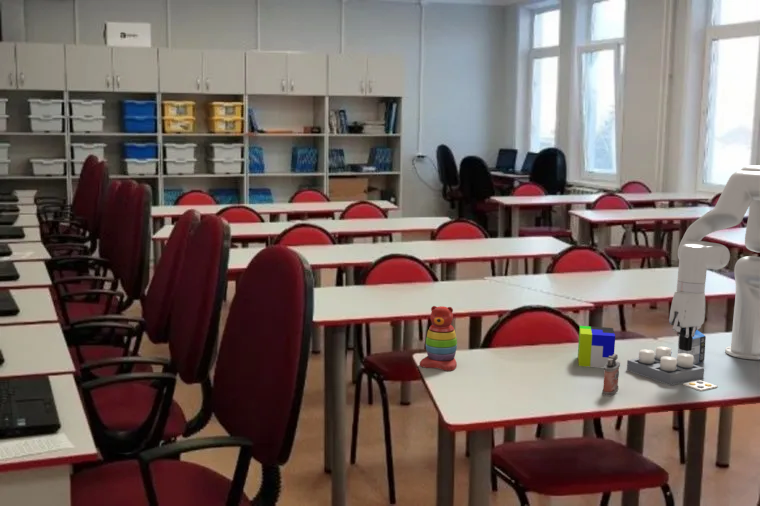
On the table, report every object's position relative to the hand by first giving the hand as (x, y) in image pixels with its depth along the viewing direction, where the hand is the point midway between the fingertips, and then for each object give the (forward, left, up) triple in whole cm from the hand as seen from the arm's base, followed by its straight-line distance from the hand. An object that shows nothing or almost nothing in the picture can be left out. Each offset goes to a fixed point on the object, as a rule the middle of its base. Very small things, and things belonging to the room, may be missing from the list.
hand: (685, 349), depth 239 cm
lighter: (+29, 0, -8) cm, 30 cm away
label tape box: (-13, -8, -8) cm, 17 cm away
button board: (+3, -4, -8) cm, 10 cm away
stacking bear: (+57, -42, -8) cm, 71 cm away
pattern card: (+3, +8, -8) cm, 12 cm away
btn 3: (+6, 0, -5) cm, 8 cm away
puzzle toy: (+13, -22, -8) cm, 27 cm away
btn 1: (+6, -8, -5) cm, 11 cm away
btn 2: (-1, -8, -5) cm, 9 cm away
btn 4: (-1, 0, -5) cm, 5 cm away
